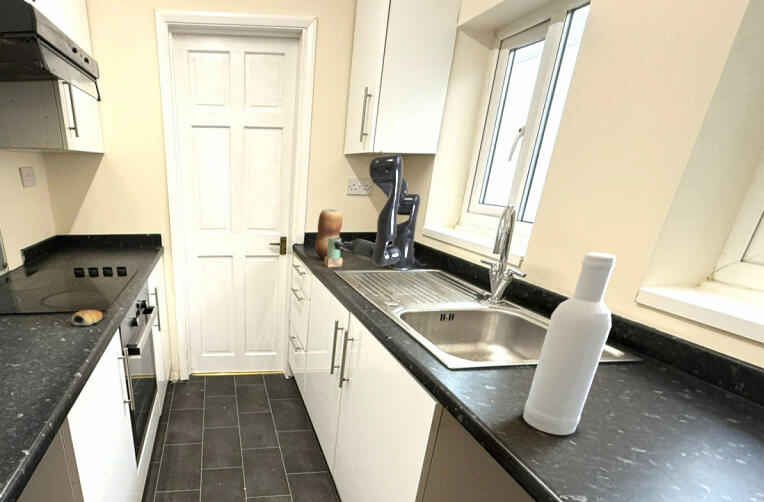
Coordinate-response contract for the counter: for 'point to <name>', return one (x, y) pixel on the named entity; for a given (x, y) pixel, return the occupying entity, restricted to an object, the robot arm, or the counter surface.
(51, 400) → the counter surface
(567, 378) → the bottle
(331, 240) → the cup
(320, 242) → the butternut squash
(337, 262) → the block
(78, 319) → the pastry
